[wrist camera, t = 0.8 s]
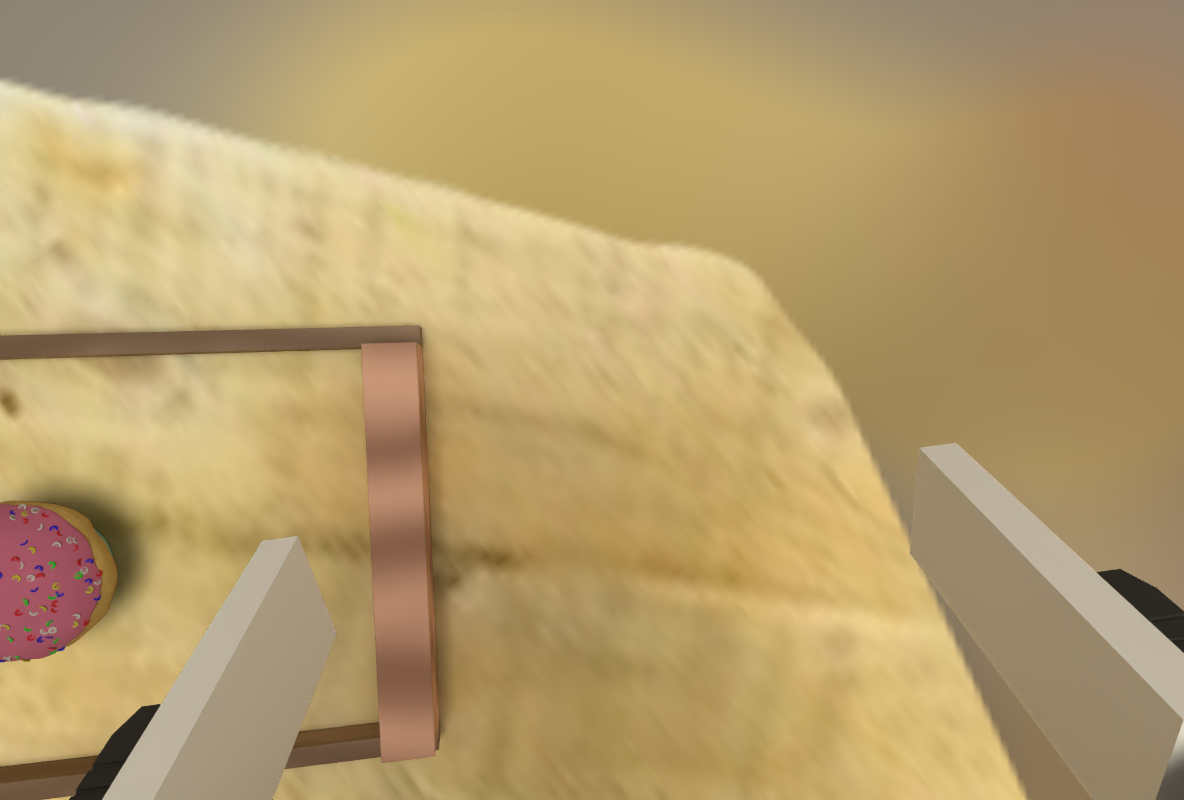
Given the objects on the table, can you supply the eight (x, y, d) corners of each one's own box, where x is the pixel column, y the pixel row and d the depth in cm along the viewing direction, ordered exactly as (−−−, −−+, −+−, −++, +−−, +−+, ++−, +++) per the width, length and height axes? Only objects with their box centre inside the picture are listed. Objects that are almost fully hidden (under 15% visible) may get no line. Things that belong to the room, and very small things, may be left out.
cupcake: (10, 647, 40) (-182, 754, 29) (-29, 508, 40) (-240, 559, 28) (164, 607, 42) (42, 695, 30) (129, 472, 41) (-9, 507, 30)
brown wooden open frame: (440, 733, 45) (436, 776, 40) (-12, 788, 40) (-79, 844, 35) (421, 328, 44) (415, 321, 39) (-40, 340, 40) (-113, 333, 35)
